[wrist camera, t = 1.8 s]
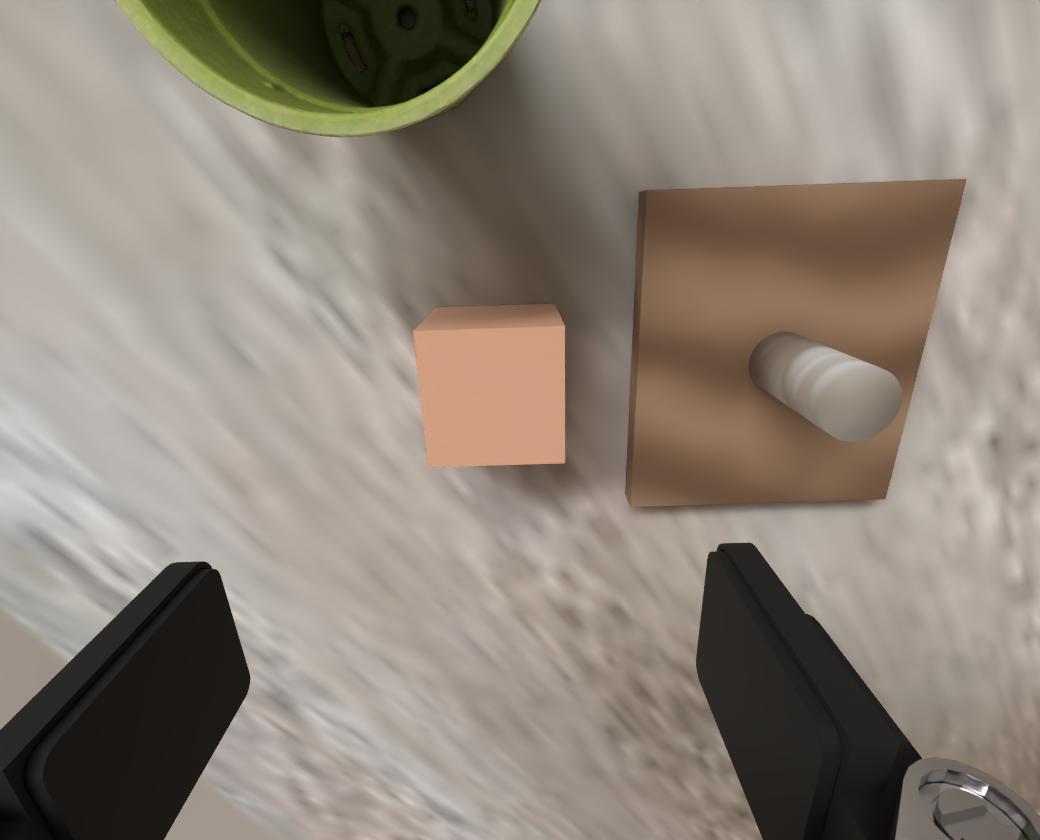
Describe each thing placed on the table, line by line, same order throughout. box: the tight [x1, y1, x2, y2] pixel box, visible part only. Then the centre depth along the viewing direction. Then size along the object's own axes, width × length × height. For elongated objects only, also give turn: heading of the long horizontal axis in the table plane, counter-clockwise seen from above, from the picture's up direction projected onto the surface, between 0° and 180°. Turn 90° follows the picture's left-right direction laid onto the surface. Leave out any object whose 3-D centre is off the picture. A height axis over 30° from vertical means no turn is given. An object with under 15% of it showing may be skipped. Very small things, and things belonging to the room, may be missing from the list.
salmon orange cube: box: [413, 303, 565, 468], centre depth 24 cm, size 6×6×6 cm
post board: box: [625, 179, 967, 507], centre depth 23 cm, size 16×14×8 cm
